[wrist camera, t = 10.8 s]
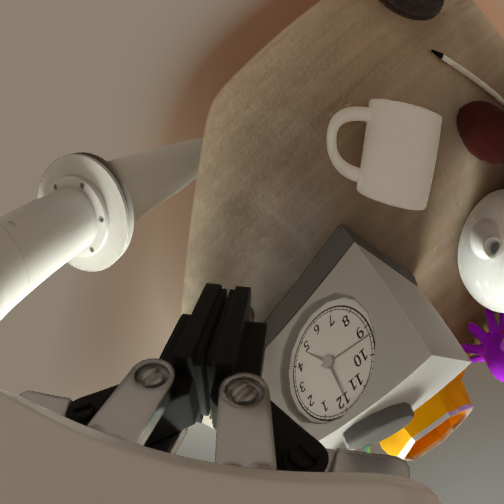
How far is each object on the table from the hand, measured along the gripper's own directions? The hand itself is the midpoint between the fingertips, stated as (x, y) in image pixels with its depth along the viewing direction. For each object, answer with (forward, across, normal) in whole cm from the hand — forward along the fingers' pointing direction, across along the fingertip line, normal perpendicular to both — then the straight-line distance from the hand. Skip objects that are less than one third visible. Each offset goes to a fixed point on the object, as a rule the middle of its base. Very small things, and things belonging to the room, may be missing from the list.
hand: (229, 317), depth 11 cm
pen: (+25, -28, -17) cm, 41 cm away
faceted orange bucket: (+12, -30, +32) cm, 45 cm away
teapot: (+25, -34, +4) cm, 43 cm away
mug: (+25, -12, -6) cm, 28 cm away
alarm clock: (+25, -11, +17) cm, 32 cm away
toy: (+24, -39, +21) cm, 51 cm away
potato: (+25, -26, -10) cm, 38 cm away
